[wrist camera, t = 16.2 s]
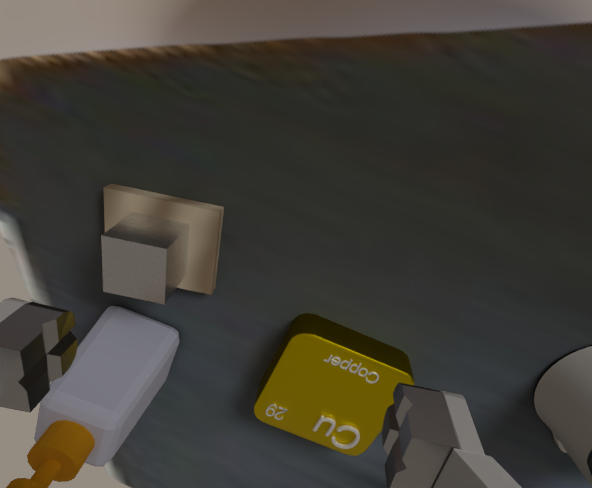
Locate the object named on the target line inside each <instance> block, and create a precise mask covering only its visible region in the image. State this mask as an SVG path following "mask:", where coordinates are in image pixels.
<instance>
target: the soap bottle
mask: <svg viewBox="0 0 592 488" xmlns="http://www.w3.org/2000/svg"><path fill="white" fill-rule="evenodd" d="M178 345H179V332H178V331H177V330H176V329H174V328H173V327H171V326H168V325H166V324H163V323H161V322H158V321H156V320H153V319H151V318H148V317H145V316H143V315H140V314H138V313H135V312H133V311H130V310H128V309H125V308H123V307H120V306H111V307H108V308H107V309H106V310H105V311H104V312H103V314H102V315H101V317H100V318H99V319H98V321H97V322H96V323H95V325H94V326H93V327H92V329H91V330H90V331H89V333H88V334H87V335H86V337H85V338H84V339H83V341H82V342H81V343H80V345H79V346H78V348H77V352H76V357H75V359H74V361H73V363H72V365H71V367H70V368H69V370H68V371H67V372H66V373H65V374H64V375H63V377H60V378H58V379H56V380H54V381H52V383H51V384H50V391H49V392H48V393H47V394H46V396H45V397H44V398H43V399H42V400H41V403H40V409H39V415H38V421H37V427H36V433H35V438H34V439H35V441H36V444H35V445H34V446H33V447H32V449H31V450H30V452H29V453H28V455H27V457H28V463H29V464H30V466H31V467H32V469H33V470H35V471H36V472H35V473H34V475H33V476H32V477H31V479H26V478H17V479H15V480H13V481H11V482H10V484H9V485H8V486H7V487H6V488H48V486H49V485H50V484H51V482H52V481H53V480H54V481H59V482H61V481H69V480H72V479H74V478H75V476H76V475H77V473H78V472H79V470H80V468H81V467H82V465H83V464H84V463H88V464H90V465H93V466H104V465H105V464H106V463H107V462H108V461H109V460H111V459H112V458H113V456H114V455H115V453H116V452H117V450H118V449H119V448H120V446H121V445H122V443H123V442H124V440H125V439H126V437H127V436H128V434H129V433H130V431H131V430H132V429H133V427H134V426H135V424H136V423H137V421H138V420H139V418H140V417H141V415H142V414H143V412H144V411H145V409H146V408H147V407H148V405H149V404H150V402H151V401H152V399H153V398H154V396H155V395H156V393H157V392H158V390H159V389H160V388H161V386H162V385H163V383H164V382H165V380H166V378H167V375H168V372H169V370H170V367H171V364H172V361H173V359H174V356H175V353H176V350H177V347H178Z"/></svg>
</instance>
